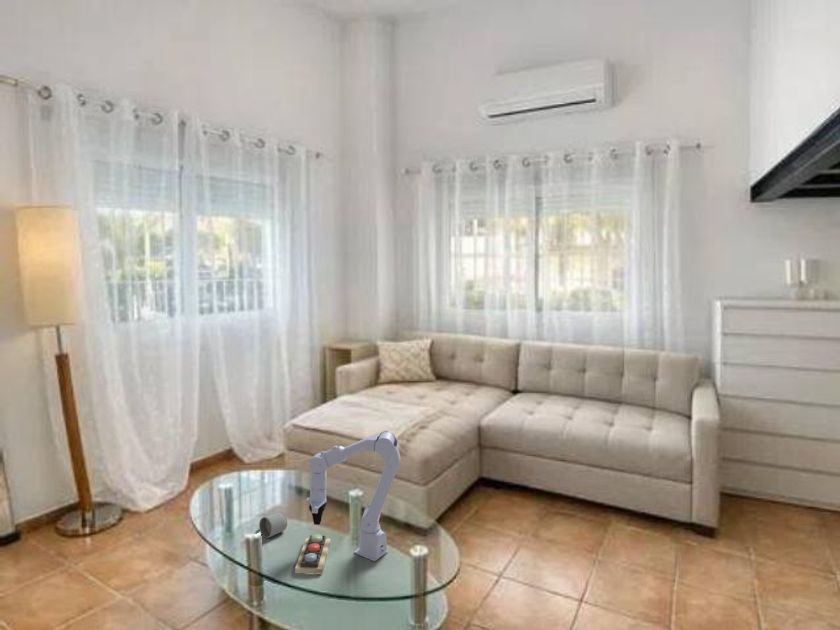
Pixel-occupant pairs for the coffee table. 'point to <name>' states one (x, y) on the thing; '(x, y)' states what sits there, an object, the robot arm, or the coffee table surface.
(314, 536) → the sage green button
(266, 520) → the ceramic mug
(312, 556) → the slate blue button
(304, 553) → the button panel
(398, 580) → the coffee table surface
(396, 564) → the coffee table surface
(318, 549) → the red button
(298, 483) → the coffee table surface
